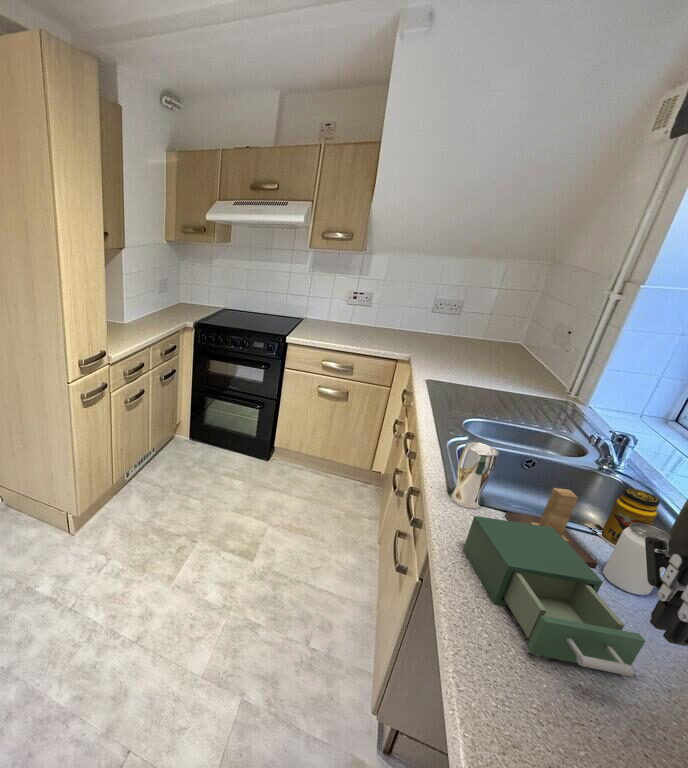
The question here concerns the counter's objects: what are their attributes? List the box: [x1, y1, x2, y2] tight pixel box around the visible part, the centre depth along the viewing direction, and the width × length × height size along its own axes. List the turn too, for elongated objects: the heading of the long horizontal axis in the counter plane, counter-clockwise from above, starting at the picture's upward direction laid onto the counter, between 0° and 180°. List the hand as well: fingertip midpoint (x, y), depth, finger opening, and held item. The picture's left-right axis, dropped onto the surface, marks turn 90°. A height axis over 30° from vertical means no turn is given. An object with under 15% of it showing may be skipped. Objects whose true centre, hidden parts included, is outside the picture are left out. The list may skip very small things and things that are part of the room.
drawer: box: [503, 571, 646, 677], centre depth 66 cm, size 17×13×7 cm
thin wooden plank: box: [504, 511, 599, 569], centre depth 90 cm, size 10×14×1 cm
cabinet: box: [462, 515, 604, 607], centre depth 78 cm, size 14×14×9 cm
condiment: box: [583, 488, 661, 549], centre depth 89 cm, size 7×8×12 cm
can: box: [602, 523, 671, 596], centre depth 77 cm, size 6×6×12 cm
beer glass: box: [450, 441, 500, 510], centre depth 100 cm, size 7×7×15 cm
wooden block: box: [530, 487, 579, 543], centre depth 88 cm, size 5×5×11 cm
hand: (668, 634), depth 50 cm, fingers closed
